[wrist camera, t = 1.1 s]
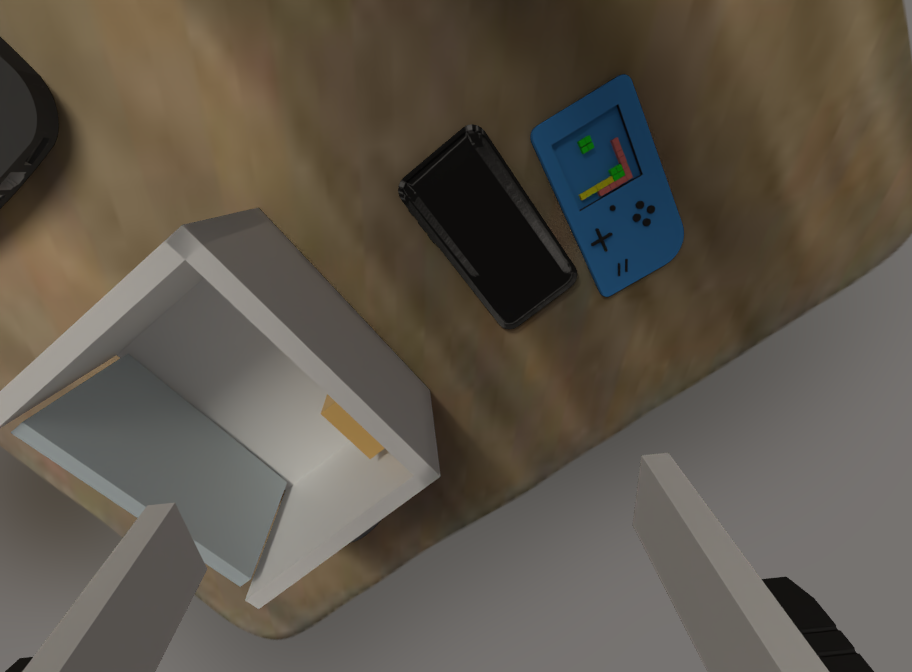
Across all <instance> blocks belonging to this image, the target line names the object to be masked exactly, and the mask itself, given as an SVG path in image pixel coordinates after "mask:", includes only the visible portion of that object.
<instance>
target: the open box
mask: <svg viewBox="0 0 912 672" xmlns="http://www.w3.org/2000/svg"><path fill="white" fill-rule="evenodd" d="M126 354H130V355H131V356H132V357H133V358H134V359H136V360H137V361H138V362H139V363H141V364H142V365H143V366H144V367H146V368H147V369H148V370H149V371H150V372H152V373H153V374H154V375H155V376H157V377H158V378H159V379H160V380H162V381H163V382H164V383H165V384H166V385H168V386H169V387H170V388H171V389H173V390H174V391H175V392H176V393H178V394H179V395H180V396H181V397H182V398H184V399H185V400H186V401H187V402H189V403H190V404H191V405H192V406H194V407H195V408H196V409H197V410H198V411H200V412H201V413H202V414H203V415H205V416H206V417H207V418H208V419H210V420H211V421H212V422H213V423H214V424H216V425H217V426H218V427H219V428H221V429H222V430H223V431H224V432H226V433H227V434H228V435H229V436H231V437H232V438H233V439H234V440H235V441H237V442H238V443H239V444H240V445H242V446H243V447H244V448H245V449H247V450H248V451H249V452H250V453H251V454H253V455H254V456H255V457H256V458H258V459H259V460H260V461H261V462H263V463H264V464H265V465H266V466H267V467H269V468H270V469H271V470H272V471H274V472H275V473H276V474H277V475H279V476H280V477H281V478H282V479H283V480H285V481H286V482H287V484H286V487H285V489H284V490H286V491H285V494H284V497H283V499H282V502H281V505H280V507H279V510H278V513H277V515H276V518H275V521H274V523H273V526H272V529H271V532H270V534H269V537H268V540H267V542H266V545H265V548H264V550H263V553H262V556H261V559H260V561H259V564H258V567H257V569H256V572H255V575H254V577H253V580H252V583H251V585H250V588H249V591H248V594H247V596H246V599H245V600H246V601H247V602H249V603H250V604H252V605H253V606H255V607H256V608H258V609H259V608H261V607H262V606H264V605H265V604H266V603H268V602H269V601H270V600H272V599H273V598H275V597H276V596H277V595H279V594H280V593H281V592H283V591H284V590H286V589H287V588H288V587H290V586H291V585H292V584H294V583H295V582H297V581H298V580H299V579H301V578H302V577H303V576H305V575H306V574H308V573H309V572H310V571H312V570H313V569H314V568H316V567H317V566H318V565H320V564H321V563H323V562H324V561H325V560H327V559H328V558H329V557H331V556H332V555H334V554H335V553H336V552H338V551H339V550H340V549H342V548H343V547H345V546H346V545H347V544H349V543H351V542H354V541H357V540H359V539H361V538H362V537H364V536H365V535H367V534H368V533H369V532H370V531H371V530H373V529H374V528H375V527H376V526H377V524H378V523H379V522H380V521H381V520H382V519H383V518H384V517H386V516H387V515H388V514H390V513H391V512H393V511H394V510H395V509H397V508H398V507H399V506H401V505H402V504H404V503H405V502H406V501H408V500H409V499H410V498H412V497H413V496H415V495H416V494H417V493H419V492H420V491H421V490H423V489H424V488H426V487H427V486H428V485H430V484H431V483H432V482H434V481H435V480H436V479H438V478H439V477H441V475H440V467H439V459H438V451H437V443H436V435H435V427H434V419H433V411H432V403H431V395H430V390H429V389H428V388H427V386H426V385H425V384H424V383H423V382H422V381H421V380H420V379H419V378H418V377H417V376H416V375H415V374H414V373H413V372H412V370H411V369H410V368H409V367H408V366H407V365H406V364H405V363H404V362H403V361H402V360H401V359H400V358H399V357H398V356H397V355H396V353H395V352H394V351H393V350H392V349H391V348H390V347H389V346H388V345H387V344H386V343H385V342H384V341H383V340H382V339H381V337H380V336H379V335H378V334H377V333H376V332H375V331H374V330H373V329H372V328H371V327H370V326H369V325H368V324H367V323H366V321H365V320H364V319H363V318H362V317H361V316H360V315H359V314H358V313H357V312H356V311H355V310H354V309H353V308H352V307H351V305H350V304H349V303H348V302H347V301H346V300H345V299H344V298H343V297H342V296H341V295H340V294H339V293H338V292H337V291H336V290H335V288H334V287H333V286H332V285H331V284H330V283H329V282H328V281H327V280H326V279H325V278H324V277H323V276H322V275H321V274H320V272H319V271H318V270H317V269H316V268H315V267H314V266H313V265H312V264H311V263H310V262H309V261H308V260H307V259H306V258H305V256H304V255H303V254H302V253H301V252H300V251H299V250H298V249H297V248H296V247H295V246H294V245H293V244H292V243H291V242H290V240H289V239H288V238H287V237H286V236H285V235H284V234H283V233H282V232H281V231H280V230H279V229H278V228H277V227H276V226H275V225H274V223H273V222H272V221H271V220H270V219H269V218H268V217H267V216H266V215H265V214H264V213H263V212H262V211H261V210H260V209H259V208H254V209H250V210H246V211H241V212H237V213H233V214H228V215H224V216H219V217H215V218H211V219H206V220H202V221H197V222H193V223H189V224H184V225H182V226H181V227H179V228H178V229H177V230H176V231H175V232H174V233H173V234H172V235H171V236H170V237H168V238H167V239H166V240H165V241H164V242H163V243H162V244H161V245H160V246H159V247H158V248H156V249H155V250H154V251H153V252H152V253H151V254H150V255H149V256H148V257H147V258H146V259H144V260H143V261H142V262H141V263H140V264H139V265H138V266H137V267H136V268H135V269H133V270H132V271H131V272H130V273H129V274H128V275H127V276H126V277H125V278H124V279H123V280H121V281H120V282H119V283H118V284H117V285H116V286H115V287H114V288H113V289H112V290H111V291H109V292H108V293H107V294H106V295H105V296H104V297H103V298H102V299H101V300H100V301H98V302H97V303H96V304H95V305H94V306H93V307H92V308H91V309H90V310H89V311H88V312H86V313H85V314H84V315H83V316H82V317H81V318H80V319H79V320H78V321H77V322H76V323H74V324H73V325H72V326H71V327H70V328H69V329H68V330H67V331H66V332H65V333H63V334H62V335H61V336H60V337H59V338H58V339H57V340H56V341H55V342H54V343H53V344H51V345H50V346H49V347H48V348H47V349H46V350H45V351H44V352H43V353H42V354H40V355H39V356H38V357H37V358H36V359H35V360H34V361H33V362H32V363H31V364H30V365H28V366H27V367H26V368H25V369H24V370H23V371H22V372H21V373H20V374H19V375H18V376H16V377H15V378H14V379H13V380H12V381H11V382H10V383H9V384H8V385H7V386H5V387H4V388H3V389H2V390H1V391H0V428H1V427H3V426H4V425H6V424H8V423H9V422H11V421H12V420H14V419H16V418H17V417H19V416H20V415H22V414H23V413H25V412H27V411H28V410H30V409H31V408H33V407H35V406H36V405H38V404H39V403H41V402H43V401H44V400H46V399H47V398H49V397H50V396H52V395H54V394H55V393H57V392H58V391H60V390H62V389H63V388H65V387H66V386H68V385H70V384H71V383H73V382H74V381H76V380H77V379H79V378H81V377H82V376H84V375H85V374H87V373H89V372H90V371H92V370H93V369H95V368H97V367H98V366H100V365H101V364H103V363H105V362H106V361H108V360H109V359H111V358H112V357H114V356H116V355H117V356H119V357H120V358H122V357H123V356H125V355H126Z"/></svg>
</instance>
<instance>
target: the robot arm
mask: <svg viewBox="0 0 912 672" xmlns="http://www.w3.org/2000/svg"><path fill="white" fill-rule="evenodd" d="M633 527H634V529H635V531H636V533H637V535H638V537H639V539H640V541H641V543H642V545H643V546H644V548H645V550H646V552H647V554H648V556H649V558H650V560H651V562H652V564H653V566H654V568H655V570H656V572H657V574H658V576H659V578H660V580H661V582H662V584H663V586H664V588H665V590H666V592H667V594H668V595H669V597H670V599H671V601H672V603H673V605H674V607H675V609H676V611H677V613H678V615H679V617H680V619H681V621H682V623H683V625H684V627H685V629H686V631H687V633H688V635H689V637H690V639H691V640H692V642H693V644H694V646H695V648H696V650H697V652H698V654H699V656H700V658H701V660H702V662H703V664H704V666H705V668H706V670H707V672H874V671H873V670H872V669H871V667H870V666H869V665H868V664H867V663H866V661H865V660H864V659H863V658H862V656H861V655H860V654H857V653H856V652H855V649H854V647H853V645H852V644H851V643H850V642H849V640H848V639H847V638H846V637H845V636H844V634H843V633H842V632H841V631H839V630H838V629H837V628H836V625H835V623H834V622H833V621H832V620H831V618H830V617H829V616H828V615H827V614H826V612H825V611H824V610H823V609H822V607H821V606H820V605H819V604H818V603H817V601H816V600H815V599H814V598H813V597H812V596H810V595H809V594H808V593H807V592H805V591H804V590H803V589H801V588H800V587H799V586H798V585H796V584H795V583H794V582H792V581H791V580H790V579H789V578H787V577H779V578H769V579H761V578H760V577H759V575H758V574H757V573H756V571H755V570H754V569H753V567H752V566H751V565H750V563H749V562H748V561H747V559H746V558H745V556H744V555H743V554H742V552H741V551H740V550H739V548H738V547H737V546H736V544H735V543H734V541H733V540H732V539H731V537H730V536H729V535H728V533H727V532H726V531H725V529H724V528H723V526H722V525H721V524H720V522H719V521H718V520H717V518H716V517H715V516H714V514H713V513H712V512H711V510H710V509H709V507H708V506H707V505H706V503H705V502H704V501H703V499H702V498H701V497H700V495H699V494H698V493H697V491H696V490H695V488H694V487H693V486H692V485H691V483H690V482H689V480H688V479H687V478H686V476H685V475H684V473H683V472H682V471H681V469H680V468H679V467H678V465H677V464H676V463H675V461H674V460H673V458H672V457H671V456H670V454H669V453H662V454H651V455H642V456H641V463H640V472H639V479H638V487H637V495H636V502H635V510H634V518H633ZM206 570H207V567H206V565H205V563H204V561H203V559H202V557H201V555H200V553H199V551H198V549H197V547H196V545H195V543H194V541H193V539H192V536H191V534H190V532H189V530H188V528H187V526H186V524H185V522H184V520H183V518H182V516H181V514H180V512H179V510H178V508H177V506H176V503H166V504H156V505H147V507H146V508H145V509H144V511H143V512H142V513H141V515H140V516H139V517H138V519H137V520H136V521H135V523H134V524H133V525H132V527H131V528H130V529H129V531H128V532H127V533H126V534H125V536H124V537H123V538H122V540H121V541H120V542H119V544H118V545H117V547H116V548H115V549H114V550H113V552H112V553H111V554H110V556H109V557H108V558H107V560H106V561H105V562H104V564H103V565H102V566H101V568H100V569H99V570H98V572H97V573H96V574H95V576H94V577H93V578H92V580H91V581H90V582H89V584H88V585H87V586H86V588H85V589H84V590H83V592H82V593H81V594H80V596H79V597H78V598H77V600H76V601H75V602H74V604H73V605H72V606H71V608H70V609H69V610H68V612H67V613H66V614H65V616H64V617H63V618H62V620H61V621H60V622H59V624H58V625H57V626H56V628H55V629H54V630H53V632H52V633H51V634H50V635H49V637H48V638H47V639H46V641H45V642H44V644H43V645H42V646H41V648H40V649H39V650H38V652H37V653H36V654H35V656H34V657H29V658H20V659H19V660H17V662H15V663H14V664H13V665H12V666H11V667H10V668H9V669H8V670H6V671H5V672H155V671H156V669H157V667H158V665H159V663H160V661H161V659H162V657H163V655H164V653H165V651H166V649H167V647H168V645H169V643H170V641H171V639H172V637H173V635H174V633H175V632H176V629H177V628H178V626H179V624H180V622H181V620H182V618H183V616H184V614H185V612H186V610H187V608H188V606H189V604H190V602H191V600H192V598H193V596H194V594H195V592H196V590H197V588H198V586H199V584H200V582H201V580H202V578H203V576H204V574H205V572H206Z"/></svg>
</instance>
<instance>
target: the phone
mask: <svg viewBox="0 0 912 672" xmlns="http://www.w3.org/2000/svg"><path fill="white" fill-rule="evenodd" d="M398 192H399V196H400V198H401V200H402V201H403V203H404V204H405V205H406V206H407V208H408V209H409V212H410V213H411V214H412V215H413V216H414V217H415V218H416V219H417V220H418V223H419V225H420V226H421V227H422V228H423V230H424V231H425V232H427V233H428V236H429V238H430V239H431V240H432V242H433V243H434V244H435V243H436V245H437V246H438V247H439V248H440V250H441V251H442V252H443V253H444V255H445V256H446V257H447V259H448V260H449V261H450V262H451V264H452V265H453V266H454V267H455V269H456V270H457V271H458V273H459V274H460V275H461V276H462V278H463V279H464V280H465V281H466V283H467V284H468V285H469V287H470V288H471V289H472V290H473V292H474V293H475V294H476V295H477V297H478V298H479V299H480V301H481V302H482V303H483V304H484V306H485V307H486V308H487V309H488V311H489V312H490V313H491V314H492V316H493V317H494V318H495V320H496V321H497V322H498V323H499V325H500V326H502V327H503V328H505V329H514V328H516V327H518V326H519V325H521V324H522V323H523V322H525V321H526V320H527V319H529V318H530V317H531V316H532V315H534V314H535V313H536V312H538V311H539V310H540V309H542V308H543V307H544V306H546V305H547V304H548V303H550V302H551V301H552V300H554V299H555V298H556V297H558V296H559V295H560V294H562V293H563V292H564V291H566V290H567V289H568V288H570V287H571V286H572V285H573V284H574V283H575V281H576V278H577V270H576V268H575V266H574V265H573V263H572V262H571V260H570V259H569V257H568V256H567V254H566V253H565V251H564V250H563V248H562V247H561V245H560V244H559V242H558V241H557V239H556V238H555V236H554V235H553V233H552V232H551V230H550V229H549V227H548V226H547V224H546V223H545V221H544V220H543V218H542V217H541V215H540V214H539V212H538V211H537V209H536V208H535V206H534V205H533V203H532V202H531V200H530V199H529V197H528V196H527V194H526V193H525V191H524V190H523V188H522V187H521V185H520V184H519V182H518V181H517V179H516V177H515V176H514V174H513V173H512V171H511V170H510V168H509V167H508V165H507V164H506V162H505V161H504V159H503V158H502V156H501V155H500V153H499V152H498V150H497V149H496V147H495V146H494V144H493V143H492V141H491V140H490V138H489V137H488V135H487V134H486V132H485V131H484V130H483V129H482V128H481V127H479V126H477V125H467V126H465V127H464V128H462V129H461V130H460V131H458V132H457V133H456V134H455V135H454V136H452V137H451V138H450V139H449V140H448V141H447V142H445V143H444V144H443V145H442V146H441V147H439V148H438V149H437V150H436V151H435V152H433V153H432V154H431V155H430V156H429V157H428V158H426V159H425V160H424V161H423V162H422V163H420V164H419V165H418V166H417V167H416V168H414V169H413V170H412V171H411V172H410V173H409V174H407V175H406V176H405V177H404V178H403V179H402V180H401V182H400V184H399V189H398Z"/></svg>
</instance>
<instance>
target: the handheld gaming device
mask: <svg viewBox="0 0 912 672" xmlns="http://www.w3.org/2000/svg"><path fill="white" fill-rule="evenodd" d="M530 139H531V143H532V145H533V147H534V149H535V151H536V154H537V156H538V158H539V160H540V162H541V165H542V167H543V169H544V171H545V173H546V176H547V178H548V180H549V182H550V185H551V187H552V189H553V191H554V193H555V196H556V198H557V200H558V202H559V204H560V207H561V209H562V211H563V213H564V215H565V218H566V220H567V222H568V224H569V226H570V229H571V231H572V233H573V235H574V237H575V240H576V242H577V244H578V246H579V248H580V251H581V253H582V255H583V257H584V259H585V262H586V264H587V266H588V268H589V270H590V273H591V275H592V277H593V279H594V281H595V284H596V286H597V288H598V290H599V292H600V294H601V295H603V296H605V297H609V296H611V295H613V294H615V293H616V292H618V291H620V290H622V289H623V288H625V287H627V286H629V285H630V284H632V283H634V282H636V281H637V280H639V279H641V278H643V277H644V276H646V275H648V274H650V273H651V272H653V271H655V270H657V269H658V268H660V267H662V266H664V265H665V264H667V263H668V262H670V261H671V260H672V259H673V258H674V257H675V256H676V254H677V253H678V252H679V250H680V248H681V245H682V242H683V238H684V229H683V224H682V221H681V219H680V216H679V213H678V210H677V207H676V204H675V202H674V199H673V196H672V193H671V190H670V187H669V184H668V182H667V179H666V176H665V173H664V170H663V167H662V165H661V162H660V159H659V156H658V153H657V150H656V148H655V145H654V142H653V139H652V136H651V133H650V131H649V128H648V125H647V122H646V119H645V116H644V113H643V111H642V108H641V105H640V102H639V99H638V96H637V94H636V91H635V88H634V85H633V82H632V80H631V78H630V77H629V76H628V75H625V74H624V75H620V76H618V77H616V78H614V79H612V80H611V81H609V82H607V83H606V84H604V85H603V86H601V87H599V88H598V89H596V90H594V91H593V92H591V93H590V94H588V95H586V96H585V97H583V98H581V99H580V100H578V101H576V102H575V103H573V104H572V105H570V106H568V107H567V108H565V109H563V110H562V111H560V112H558V113H557V114H555V115H554V116H552V117H550V118H549V119H547V120H545V121H544V122H542V123H541V124H539V125H537V126H536V127H535V128H534V129H533V130H532V132H531V136H530Z"/></svg>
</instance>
